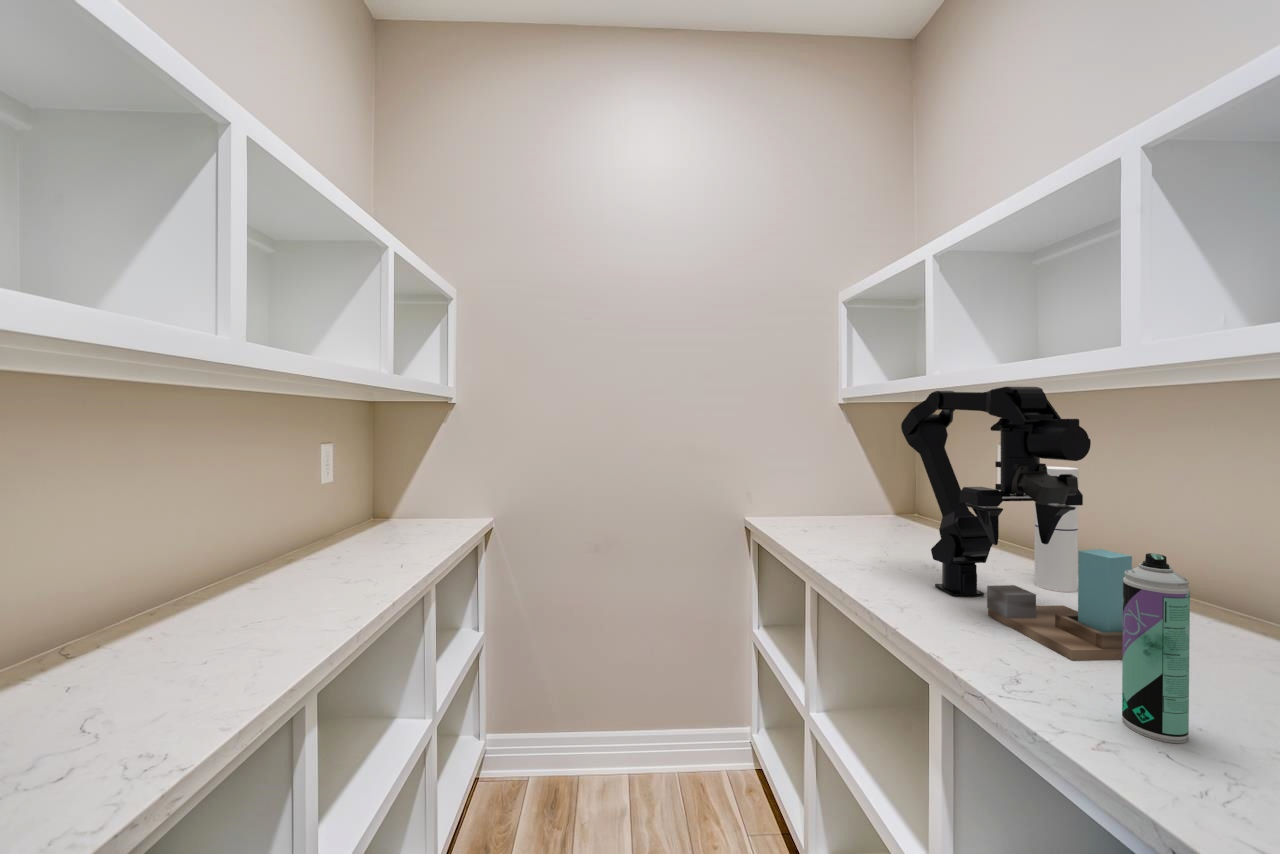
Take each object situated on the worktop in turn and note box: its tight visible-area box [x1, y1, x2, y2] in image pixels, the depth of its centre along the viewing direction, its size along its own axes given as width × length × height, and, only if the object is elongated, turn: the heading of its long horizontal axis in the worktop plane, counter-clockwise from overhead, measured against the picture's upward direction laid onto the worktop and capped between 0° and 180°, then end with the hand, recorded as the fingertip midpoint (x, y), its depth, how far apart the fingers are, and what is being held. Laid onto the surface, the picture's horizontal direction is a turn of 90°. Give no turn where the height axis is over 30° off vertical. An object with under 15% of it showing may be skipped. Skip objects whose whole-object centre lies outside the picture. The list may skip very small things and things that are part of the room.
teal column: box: [1077, 548, 1133, 633], centre depth 83 cm, size 4×4×13 cm
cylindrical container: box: [1033, 465, 1079, 593], centre depth 112 cm, size 7×7×25 cm
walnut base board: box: [986, 584, 1123, 661], centre depth 87 cm, size 18×14×6 cm
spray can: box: [1121, 552, 1191, 744], centre depth 61 cm, size 6×6×20 cm
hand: (1019, 544), depth 95 cm, fingers open, 9 cm apart
